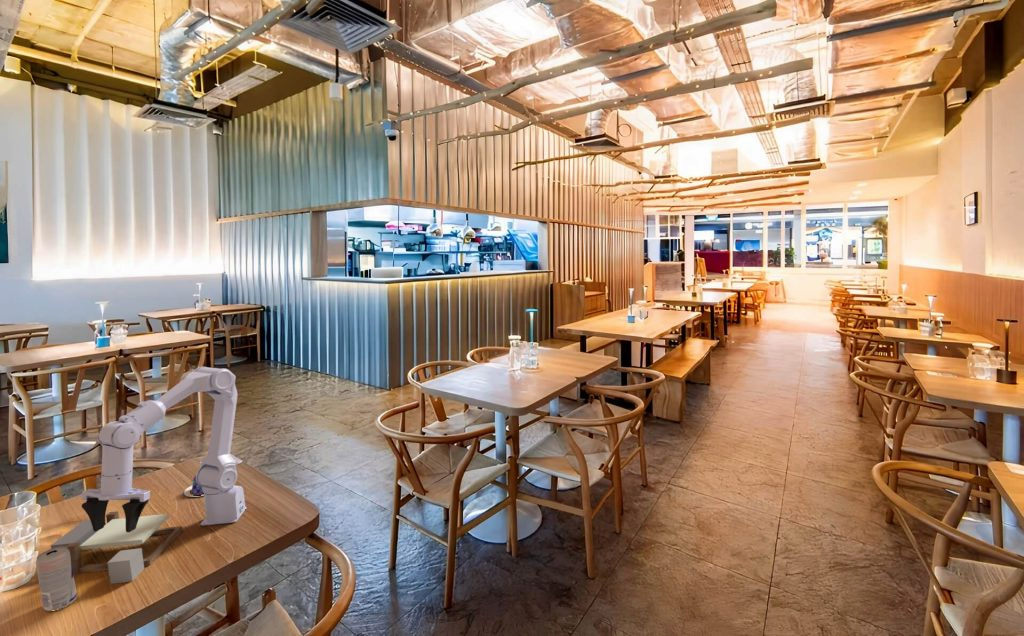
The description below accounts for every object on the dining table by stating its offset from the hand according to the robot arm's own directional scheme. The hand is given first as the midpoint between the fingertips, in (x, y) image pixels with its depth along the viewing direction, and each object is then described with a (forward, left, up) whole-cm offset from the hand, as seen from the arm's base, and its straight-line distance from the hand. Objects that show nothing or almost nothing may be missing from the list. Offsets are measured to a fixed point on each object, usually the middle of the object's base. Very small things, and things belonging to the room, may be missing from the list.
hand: (114, 530), depth 113 cm
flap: (+7, -9, -7) cm, 13 cm away
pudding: (0, -42, -12) cm, 44 cm away
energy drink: (+7, +9, -11) cm, 16 cm away
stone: (-2, +2, -11) cm, 12 cm away
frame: (+6, -9, -11) cm, 16 cm away
